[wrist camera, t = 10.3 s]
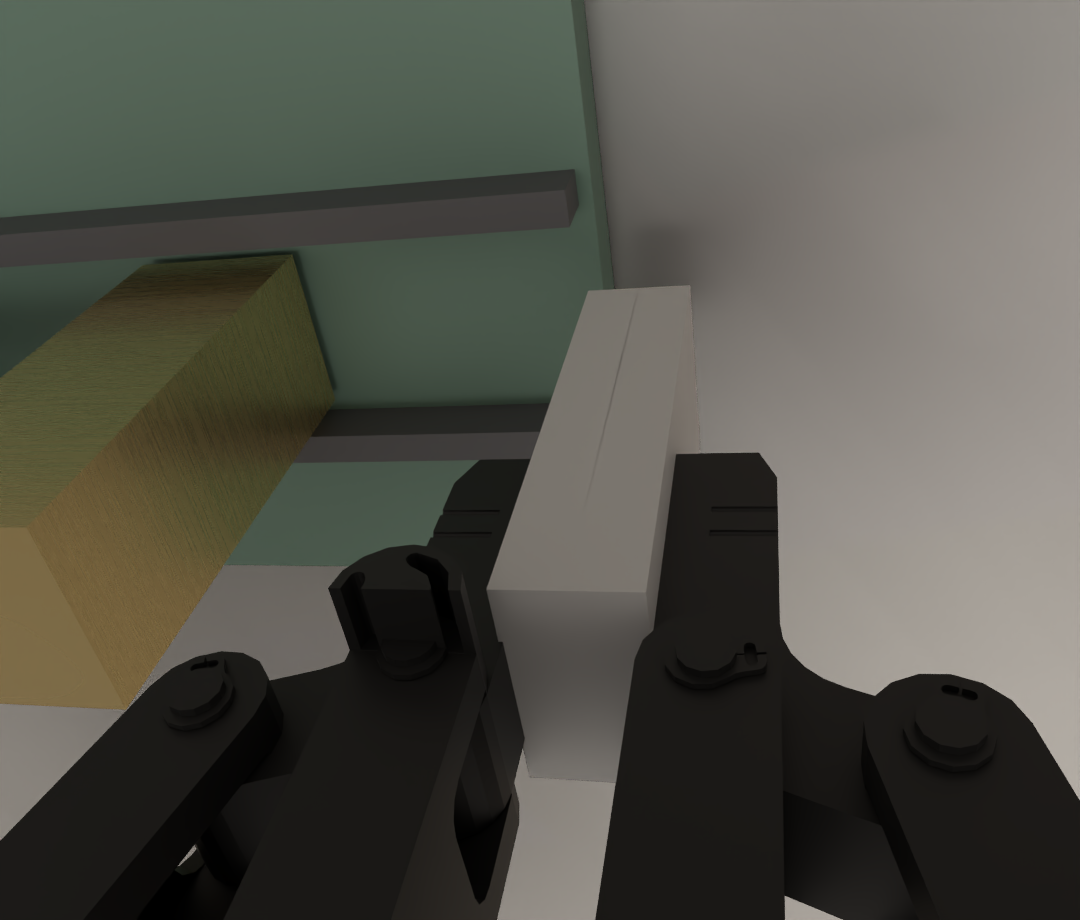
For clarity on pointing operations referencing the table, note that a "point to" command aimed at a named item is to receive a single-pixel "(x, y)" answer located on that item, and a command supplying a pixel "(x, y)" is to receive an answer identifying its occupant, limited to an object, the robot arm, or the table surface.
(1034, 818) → the robot arm
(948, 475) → the table surface
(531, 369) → the board
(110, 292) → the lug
